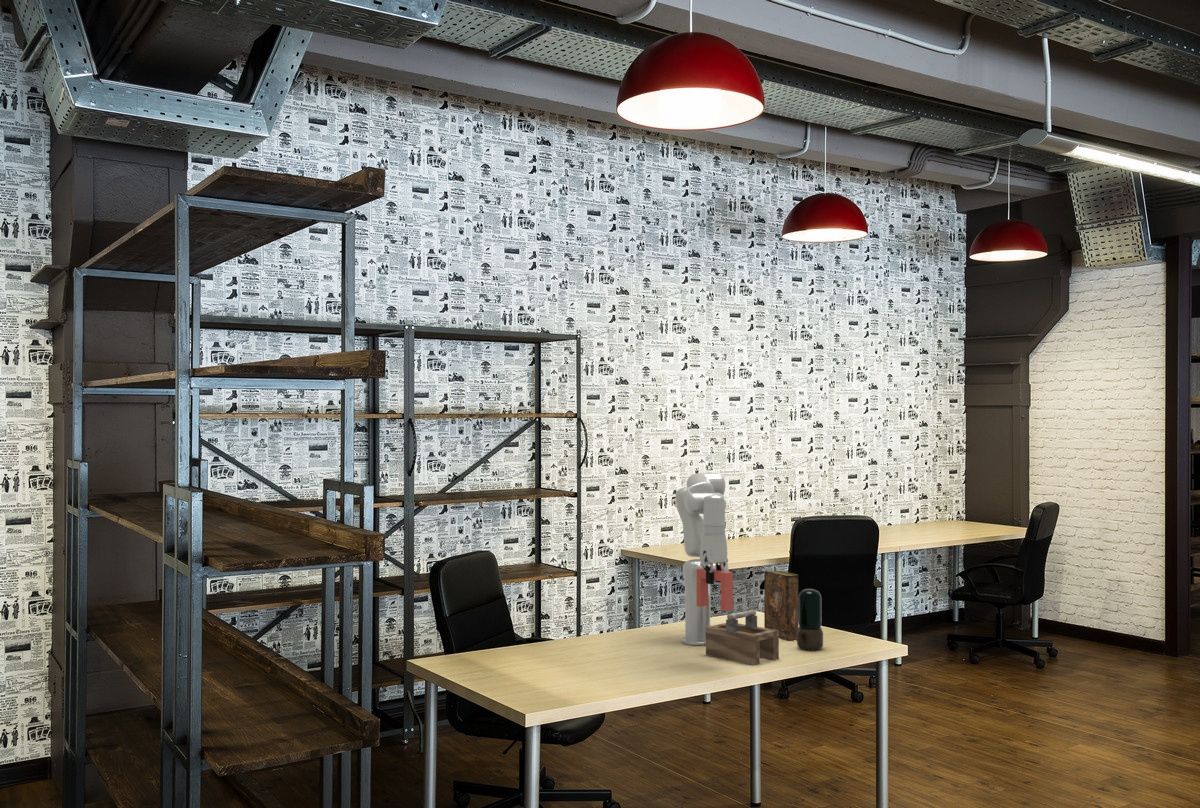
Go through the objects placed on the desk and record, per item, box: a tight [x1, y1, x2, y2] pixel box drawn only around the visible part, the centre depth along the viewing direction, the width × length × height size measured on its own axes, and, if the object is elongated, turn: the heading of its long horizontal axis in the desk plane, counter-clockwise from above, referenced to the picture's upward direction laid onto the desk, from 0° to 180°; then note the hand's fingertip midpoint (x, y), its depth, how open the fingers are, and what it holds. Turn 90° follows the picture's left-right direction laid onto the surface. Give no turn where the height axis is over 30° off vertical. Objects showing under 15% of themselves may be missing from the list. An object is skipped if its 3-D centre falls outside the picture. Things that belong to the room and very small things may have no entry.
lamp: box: [796, 588, 824, 651], centre depth 371 cm, size 10×10×22 cm
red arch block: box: [697, 568, 734, 612], centre depth 348 cm, size 4×13×13 cm, turn 43°
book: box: [763, 569, 799, 642], centre depth 392 cm, size 16×6×25 cm, turn 25°
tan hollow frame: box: [705, 609, 780, 666], centre depth 357 cm, size 14×22×16 cm, turn 43°
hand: (714, 582), depth 348 cm, fingers closed on red arch block, 4 cm apart
